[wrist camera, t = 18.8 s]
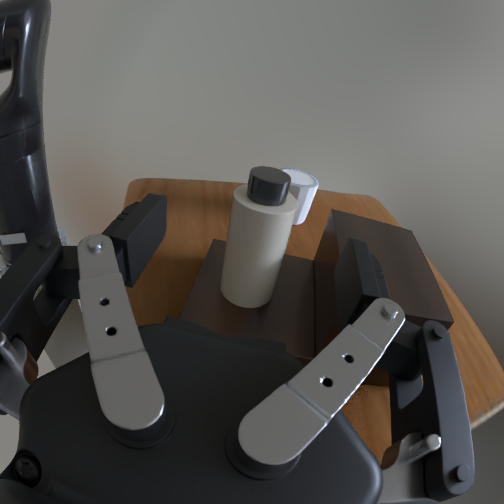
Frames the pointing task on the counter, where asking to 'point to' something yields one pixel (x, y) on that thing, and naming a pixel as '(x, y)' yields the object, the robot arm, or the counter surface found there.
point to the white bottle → (257, 237)
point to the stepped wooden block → (320, 291)
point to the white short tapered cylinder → (302, 191)
